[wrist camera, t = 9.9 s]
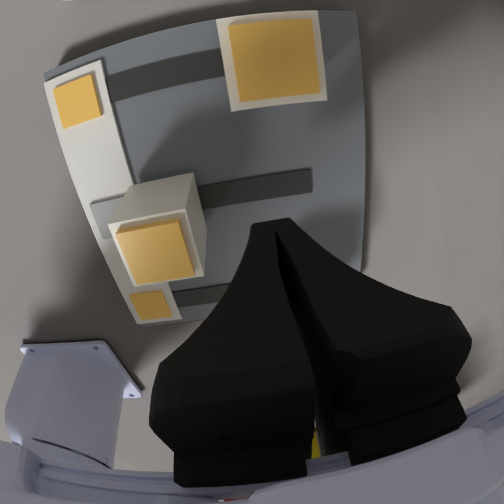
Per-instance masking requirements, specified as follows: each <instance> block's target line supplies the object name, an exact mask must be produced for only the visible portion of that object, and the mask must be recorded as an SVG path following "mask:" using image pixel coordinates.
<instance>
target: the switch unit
mask: <svg viewBox="0 0 504 504" xmlns="http://www.w3.org/2000/svg"><path fill="white" fill-rule="evenodd" d="M302 11H311V10H302ZM317 11H318V18H319V26H320V33H321V41H322V50H323V59H324V69H325V79H326V90H327V101H315V102H303V103H293V104H284V105H275V106H267V107H260V108H252V109H246V110H239V111H233V112H231V107H230V101H229V95H228V89H227V83H226V77H225V71H224V65H223V59H222V53H221V47H220V41H219V35H218V29H217V24H216V19H214V20H208V21H202V22H197V23H192V24H187V25H183V26H178V27H174V28H170V29H166V30H162V31H158V32H154V33H150V34H147V35H143V36H140V37H136V38H133V39H130V40H127V41H123V42H120V43H117V44H114V45H111V46H108V47H106V48H103V49H100V50H97V51H95V52H92V53H89V54H87V55H84V56H82V57H79V58H77V59H74V60H72V61H69V62H67V63H65V64H62V65H60V66H58V67H56V68H54V69H51V70H49V71H47V72H45V73H44V77H45V81H46V82H45V83H44V86H45V90H46V94H47V98H48V102H49V106H50V110H51V113H52V117H53V120H54V124H55V127H56V131H57V134H58V137H59V140H60V144H61V147H62V150H63V153H64V156H65V159H66V162H67V165H68V168H69V171H70V174H71V177H72V179H73V182H74V185H75V188H76V190H77V193H78V196H79V198H80V201H81V203H82V206H83V209H84V211H85V214H86V216H87V219H88V221H89V223H90V226H91V228H92V231H93V233H94V235H95V238H96V240H97V242H98V245H99V247H100V249H101V251H102V254H103V256H104V258H105V260H106V262H107V265H108V267H109V269H110V271H111V273H112V275H113V277H114V279H115V281H116V283H117V286H118V288H119V290H120V292H121V294H122V296H123V298H124V300H125V302H126V303H127V305H128V307H129V309H130V311H131V313H132V315H133V317H134V319H135V321H136V322H137V324H139V325H140V327H146V326H155V325H164V324H173V323H181V322H189V321H197V320H204V319H206V318H207V317H208V315H209V314H210V313H211V311H212V310H213V309H214V307H215V306H216V304H217V303H218V302H219V300H220V299H221V297H222V296H223V294H224V293H225V291H226V289H227V288H228V286H229V284H230V282H231V280H232V279H233V277H234V275H235V272H236V270H237V268H238V266H239V264H240V262H241V259H242V257H243V254H244V251H245V248H246V246H247V242H248V239H249V234H250V226H251V225H252V224H253V223H257V222H264V221H270V220H276V219H282V218H288V217H289V218H291V219H292V220H293V221H294V222H295V223H296V224H297V225H298V226H299V227H300V228H301V229H303V230H304V231H305V232H306V233H307V234H308V235H309V236H310V237H311V238H312V239H314V240H315V241H316V242H317V243H318V244H320V245H321V246H322V247H323V248H324V249H326V250H327V251H328V252H330V253H331V254H332V255H334V256H335V257H336V258H338V259H339V260H341V261H342V262H344V263H345V264H347V265H349V266H350V267H352V268H354V269H355V270H357V271H359V272H360V269H361V257H362V243H363V227H364V205H365V108H364V87H363V72H362V59H361V48H360V38H359V28H358V20H357V12H356V11H345V10H317ZM282 12H286V11H282ZM268 13H271V12H268ZM258 14H260V13H258ZM249 15H251V14H249ZM240 16H242V15H240ZM233 17H235V16H233ZM226 18H228V17H226ZM220 19H221V18H220ZM192 172H193V173H194V178H195V182H196V186H197V190H198V195H199V199H200V203H201V207H202V211H203V215H204V219H205V223H206V228H207V239H206V255H205V273H204V276H202V277H195V278H189V279H182V280H176V281H169V282H162V283H156V284H149V285H142V286H135V287H134V285H133V283H132V281H131V279H130V276H129V274H128V272H127V270H126V267H125V265H124V263H123V260H122V258H121V256H120V253H119V251H118V249H117V246H116V244H115V242H114V239H113V237H112V234H111V232H110V229H109V227H108V223H109V221H110V219H111V218H112V216H113V214H114V212H115V211H116V209H117V207H118V205H119V204H120V202H121V200H122V199H123V197H124V195H125V194H126V192H127V190H128V189H129V187H130V186H132V185H136V184H140V183H145V182H149V181H154V180H158V179H163V178H167V177H172V176H177V175H182V174H187V173H192Z"/></svg>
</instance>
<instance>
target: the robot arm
mask: <svg viewBox="0 0 504 504" xmlns="http://www.w3.org/2000/svg"><path fill="white" fill-rule="evenodd" d="M471 346H472V338H471V337H470V335H469V333H468V331H467V330H466V328H465V326H464V325H463V323H462V321H461V320H460V318H459V317H458V316H457V314H456V313H455V312H454V310H453V309H452V308H451V307H450V306H446V305H443V304H439V303H436V302H432V301H428V300H425V299H421V298H418V297H415V296H412V295H410V294H407V293H404V292H401V291H399V290H396V289H394V288H392V287H389V286H387V285H385V284H383V283H380V282H378V281H376V280H374V279H372V278H370V277H368V276H366V275H364V274H362V273H360V272H359V271H357V270H355V269H354V268H352V267H350V266H349V265H347V264H345V263H344V262H342V261H341V260H339V259H338V258H336V257H335V256H334V255H332V254H331V253H330V252H328V251H327V250H326V249H324V248H323V247H322V246H321V245H320V244H318V243H317V242H316V241H315V240H314V239H312V238H311V237H310V236H309V235H308V234H307V233H306V232H305V231H304V230H303V229H301V228H300V227H299V226H298V225H297V224H296V223H295V222H294V221H293V220H292V219H291V218H289V217H288V218H282V219H276V220H270V221H264V222H257V223H253V224H252V225H251V226H250V234H249V239H248V242H247V246H246V248H245V251H244V254H243V257H242V259H241V262H240V264H239V266H238V268H237V270H236V272H235V275H234V277H233V279H232V280H231V282H230V284H229V286H228V288H227V289H226V291H225V293H224V294H223V296H222V297H221V299H220V300H219V302H218V303H217V304H216V306H215V307H214V309H213V310H212V311H211V313H210V314H209V315H208V317H207V318H206V319H205V320H204V321H203V323H202V324H201V325H200V326H199V327H198V328H197V329H196V330H195V331H194V333H193V334H192V335H191V336H190V337H189V338H188V339H187V340H186V341H185V342H184V343H183V344H182V345H181V346H179V347H178V348H177V349H176V350H175V351H174V352H173V353H171V354H170V355H169V356H168V357H167V358H166V359H164V360H163V361H162V362H161V363H160V364H159V367H158V371H157V374H156V377H155V381H154V385H153V389H152V394H151V403H150V414H149V426H150V427H151V429H152V430H153V432H154V433H155V434H156V435H157V436H158V437H159V438H160V439H161V440H162V441H163V442H164V443H165V444H166V445H167V446H168V447H169V448H170V449H171V450H172V451H173V452H174V472H148V471H129V470H116V469H113V466H114V457H115V449H116V441H117V433H118V426H119V419H120V413H121V407H122V400H123V398H140V397H142V391H141V390H140V389H139V388H138V386H137V385H136V384H135V382H134V381H133V380H132V378H131V377H130V376H129V374H128V373H127V371H126V370H125V369H124V367H123V366H122V364H121V363H120V362H119V360H118V359H117V357H116V356H115V354H114V353H113V352H112V350H111V349H110V347H109V346H108V344H107V343H106V342H104V341H86V342H69V343H48V344H22V345H21V347H20V350H21V351H22V353H23V354H24V355H25V356H24V358H23V361H22V363H21V366H20V368H19V371H18V373H17V376H16V379H15V381H14V384H13V387H12V390H11V392H10V395H9V398H8V401H7V404H6V409H5V422H6V428H7V431H8V434H9V436H10V437H11V439H12V441H13V442H12V443H9V442H5V441H1V440H0V504H504V485H503V481H504V391H502V392H500V393H498V394H496V395H494V396H493V397H491V398H489V399H487V400H485V401H483V402H481V403H479V404H476V405H474V406H472V407H470V408H468V409H466V410H464V409H463V407H462V405H461V403H460V401H459V399H458V396H457V394H459V392H460V387H459V385H458V383H457V381H456V379H455V378H456V376H457V375H458V373H459V371H460V370H461V368H462V366H463V364H464V363H465V361H466V359H467V357H468V355H469V352H470V350H471ZM315 422H316V428H317V433H318V439H319V445H320V451H321V457H318V458H313V459H312V439H313V438H314V424H315ZM240 498H246V499H240ZM224 499H239V500H232V501H224V502H219V501H218V500H224Z"/></svg>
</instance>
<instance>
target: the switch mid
mask: <svg viewBox="0 0 504 504" xmlns="http://www.w3.org/2000/svg"><path fill="white" fill-rule="evenodd" d="M108 227H109V229H110V232H111V234H112V237H113V239H114V242H115V244H116V246H117V249H118V251H119V253H120V256H121V258H122V260H123V263H124V265H125V267H126V270H127V272H128V274H129V276H130V279H131V281H132V283H133V285H134V287H135V286H142V285H149V284H156V283H162V282H169V281H176V280H182V279H189V278H195V277H202V276H204V273H205V255H206V239H207V228H206V223H205V219H204V215H203V211H202V207H201V203H200V199H199V195H198V190H197V186H196V182H195V178H194V173H193V172H192V173H187V174H182V175H177V176H172V177H167V178H163V179H158V180H154V181H149V182H145V183H140V184H136V185H132V186H130V187H129V189H128V190H127V192H126V194H125V195H124V197H123V199H122V200H121V202H120V204H119V205H118V207H117V209H116V211H115V212H114V214H113V216H112V218H111V219H110V221H109V223H108Z"/></svg>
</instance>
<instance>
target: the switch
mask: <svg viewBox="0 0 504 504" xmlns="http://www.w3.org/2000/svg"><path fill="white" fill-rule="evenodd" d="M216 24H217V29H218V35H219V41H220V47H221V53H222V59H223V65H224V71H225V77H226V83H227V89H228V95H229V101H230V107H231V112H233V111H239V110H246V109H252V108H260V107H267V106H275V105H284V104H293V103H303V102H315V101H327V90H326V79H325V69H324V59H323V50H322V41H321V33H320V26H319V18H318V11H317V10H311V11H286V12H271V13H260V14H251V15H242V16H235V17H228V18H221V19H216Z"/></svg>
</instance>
